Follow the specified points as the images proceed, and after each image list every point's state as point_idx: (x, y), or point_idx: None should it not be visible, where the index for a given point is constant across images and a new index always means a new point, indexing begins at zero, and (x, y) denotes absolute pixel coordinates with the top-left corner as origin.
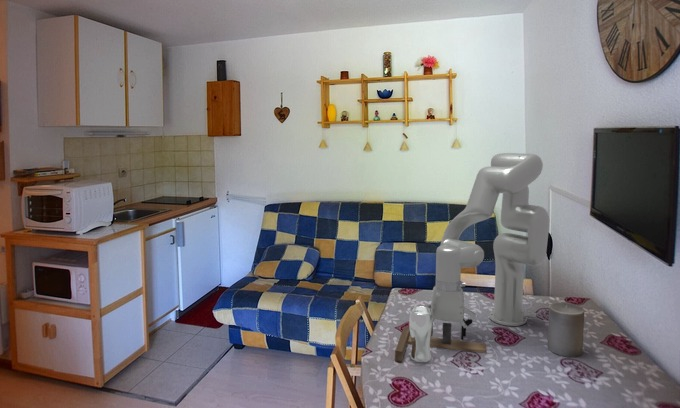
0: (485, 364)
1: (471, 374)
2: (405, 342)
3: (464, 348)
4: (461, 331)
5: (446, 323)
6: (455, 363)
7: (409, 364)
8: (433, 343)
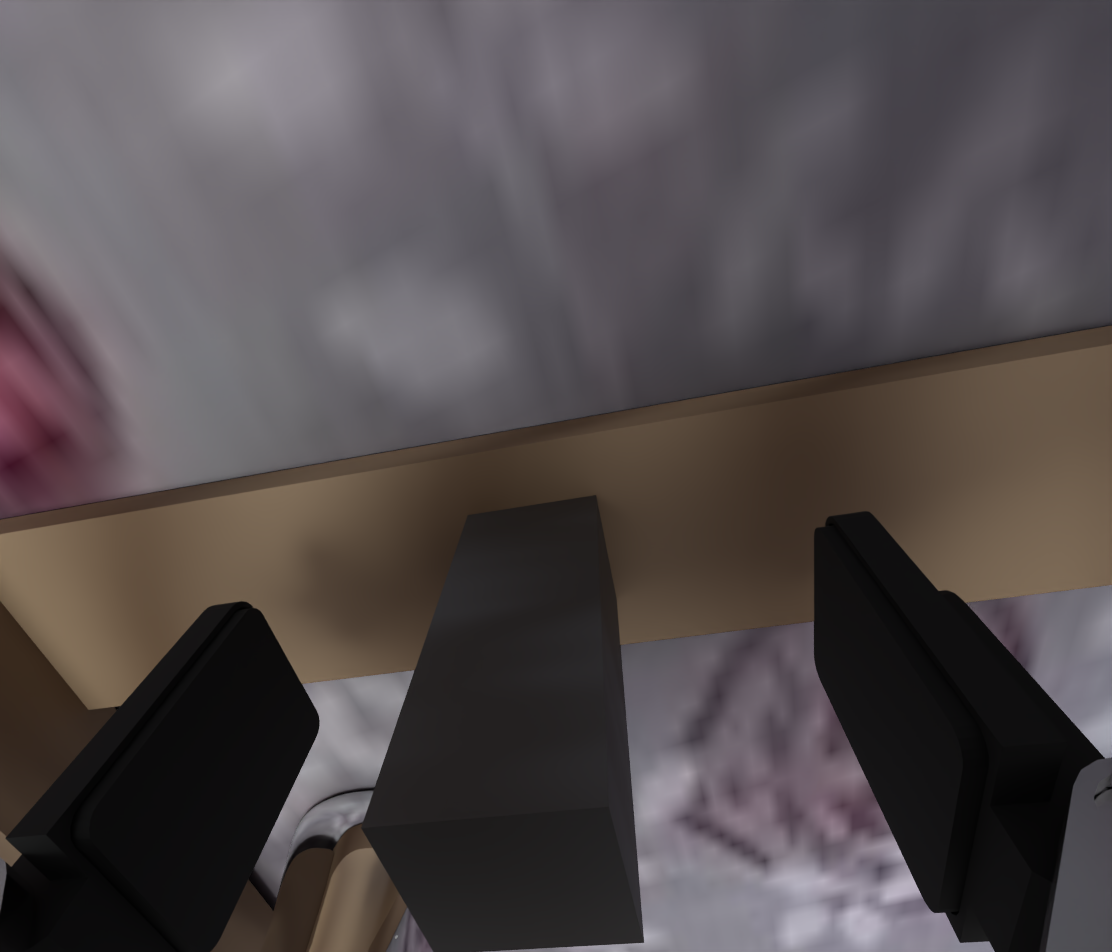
0: None
1: (887, 919)
2: None
3: None
4: (895, 830)
5: (469, 840)
6: (733, 837)
7: None
8: (387, 650)
